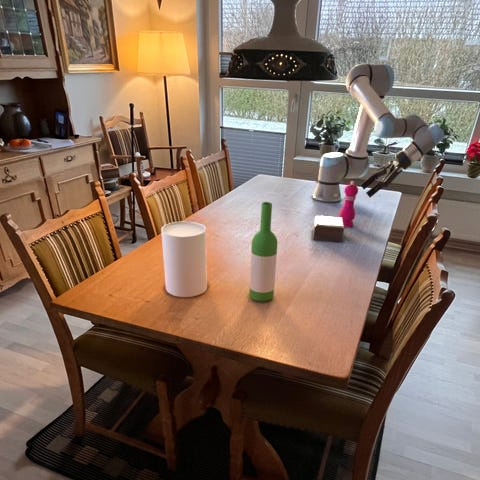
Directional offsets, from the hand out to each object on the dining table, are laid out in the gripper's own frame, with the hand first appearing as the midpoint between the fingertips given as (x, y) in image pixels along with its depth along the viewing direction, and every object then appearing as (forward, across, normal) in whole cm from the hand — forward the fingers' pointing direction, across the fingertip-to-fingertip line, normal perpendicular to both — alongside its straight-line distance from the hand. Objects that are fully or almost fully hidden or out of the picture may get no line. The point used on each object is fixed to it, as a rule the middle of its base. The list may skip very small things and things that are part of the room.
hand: (364, 191), depth 184 cm
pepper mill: (+16, 0, -7) cm, 17 cm away
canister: (+60, -70, +37) cm, 99 cm away
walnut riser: (+23, -16, 0) cm, 28 cm away
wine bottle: (+42, -74, +19) cm, 87 cm away
